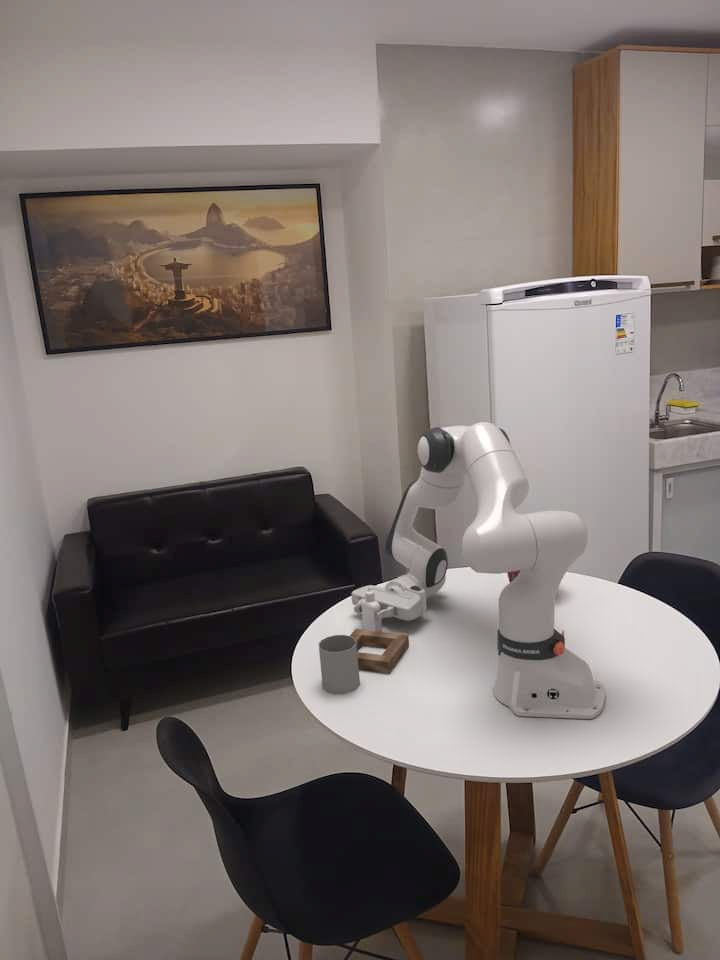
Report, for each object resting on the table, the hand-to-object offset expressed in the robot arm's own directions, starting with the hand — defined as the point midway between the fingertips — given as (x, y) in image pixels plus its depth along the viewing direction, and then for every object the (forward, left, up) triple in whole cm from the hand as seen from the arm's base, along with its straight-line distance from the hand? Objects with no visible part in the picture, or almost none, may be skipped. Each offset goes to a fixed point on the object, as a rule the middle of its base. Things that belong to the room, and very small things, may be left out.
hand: (366, 613), depth 185 cm
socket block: (-6, +11, -6) cm, 14 cm away
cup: (-4, +25, -6) cm, 26 cm away
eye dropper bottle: (-1, -2, -6) cm, 6 cm away
